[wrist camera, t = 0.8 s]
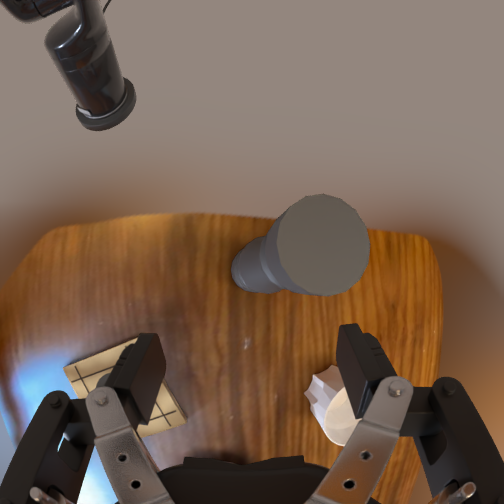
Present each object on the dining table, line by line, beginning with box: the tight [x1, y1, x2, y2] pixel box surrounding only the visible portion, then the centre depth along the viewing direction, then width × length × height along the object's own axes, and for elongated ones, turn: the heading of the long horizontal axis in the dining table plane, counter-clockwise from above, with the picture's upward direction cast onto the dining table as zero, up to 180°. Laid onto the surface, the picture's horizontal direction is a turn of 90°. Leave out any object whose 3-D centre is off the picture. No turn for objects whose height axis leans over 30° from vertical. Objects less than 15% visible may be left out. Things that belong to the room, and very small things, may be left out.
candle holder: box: [231, 194, 370, 296], centre depth 28 cm, size 6×6×25 cm
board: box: [63, 337, 187, 438], centre depth 34 cm, size 14×14×2 cm
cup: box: [304, 365, 362, 446], centre depth 35 cm, size 10×10×10 cm
